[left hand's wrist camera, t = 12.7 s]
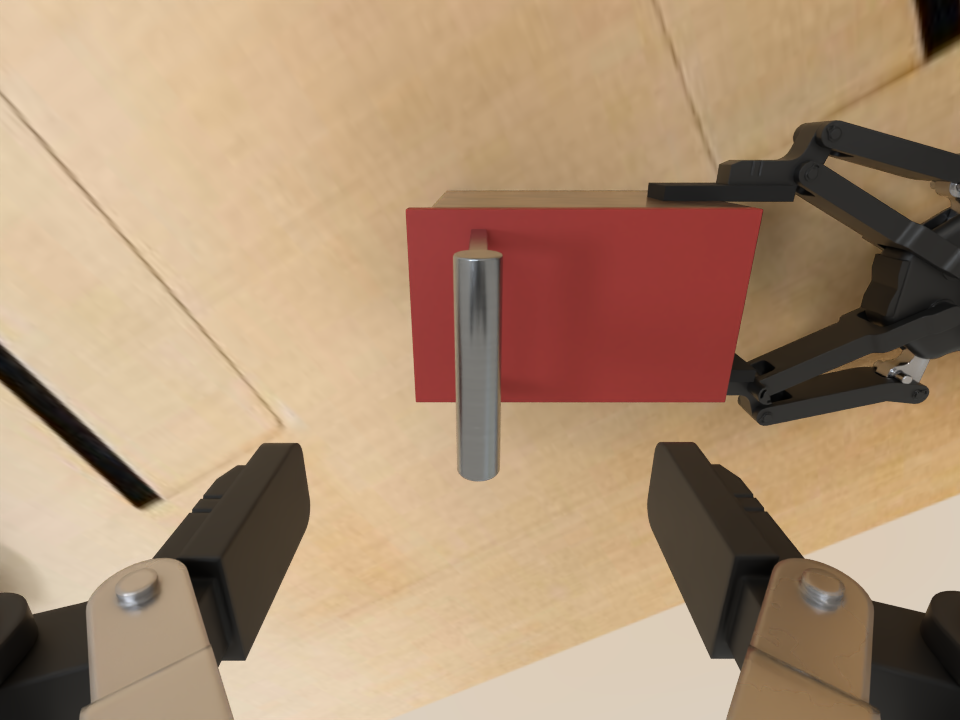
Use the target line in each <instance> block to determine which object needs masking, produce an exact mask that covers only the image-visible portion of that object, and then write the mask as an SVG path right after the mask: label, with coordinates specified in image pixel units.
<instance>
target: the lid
mask: <svg viewBox="0 0 960 720" xmlns="http://www.w3.org/2000/svg"><path fill="white" fill-rule="evenodd" d="M762 213H763V209H759V208H408V209H406V225H407V243H408V262H409V281H410V300H411V319H412V337H413V356H414V375H415V394H416V402H456V432H457V470H458V472H459V474H460V475H461V476H462V477H463V478H465V479H468V480H471V481H486V480H489V479H492V478H493V477H495V476H496V475H497V474H498V472H499V470H500V419H501V402H725V399H726V394H727V389H728V384H729V379H730V374H731V369H732V364H733V359H734V354H735V349H736V344H737V339H738V334H739V329H740V324H741V319H742V314H743V309H744V304H745V299H746V294H747V289H748V284H749V279H750V274H751V269H752V264H753V259H754V254H755V249H756V244H757V239H758V233H759V228H760V223H761V218H762Z"/></svg>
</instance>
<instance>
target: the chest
mask: <svg viewBox="0 0 960 720" xmlns="http://www.w3.org/2000/svg"><path fill="white" fill-rule="evenodd" d="M647 194H648V191H446V192H445V193H444V194H443V196H442V197H441V198H440V199H439V200H438V201H437V202H436V203H435V204H434V205H433V206H432V207H431V208H752V207H748V206H743V205H738V204H733V203H728V202H723V201H661V200H657V199H653V198H650V197H647Z"/></svg>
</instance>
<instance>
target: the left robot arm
mask: <svg viewBox="0 0 960 720" xmlns="http://www.w3.org/2000/svg"><path fill="white" fill-rule="evenodd" d="M647 509H648V518H649V522H650V526H651V529H652V531H653V533H654V535H655V537H656V540H657V542H658V544H659V546H660V548H661V551H662V553H663V555H664V557H665V559H666V561H667V564H668V566H669V568H670V570H671V572H672V575H673V577H674V579H675V581H676V583H677V585H678V588H679V590H680V592H681V594H682V596H683V599H684V601H685V603H686V605H687V607H688V610H689V612H690V614H691V616H692V618H693V620H694V623H695V625H696V627H697V629H698V631H699V634H700V636H701V638H702V640H703V642H704V644H705V647H706V649H707V651H708V653H709V655H710V658H711V659H735V661H736V663H737V665H738V667H739V669H740V671H741V672H740V676H739V679H738V682H737V685H736V689H735V692H734V695H733V699H732V702H731V705H730V708H729V712H728V715H727V718H726V720H960V591H944V592H940V593H938V594H936V595H935V596H934V597H933V598H932V600H931V602H930V604H929V607H928V609H927V611H926V613H922V612H918V611H914V610H910V609H905V608H901V607H897V606H893V605H888V604H884V603H880V602H875V601H872V600H871V599H870V597H869V595H868V594H867V593H866V592H865V590H864V589H863V588H862V587H861V586H860V585H859V584H858V583H857V582H856V581H854V580H853V579H852V578H850V577H849V576H847V575H846V574H844V573H843V572H841V571H839V570H837V569H835V568H833V567H831V566H829V565H826V564H824V563H821V562H818V561H814V560H810V559H805V558H804V557H803V556H802V555H801V553H800V552H799V551H798V550H797V549H796V547H795V546H794V545H793V544H792V542H791V541H790V540H789V539H788V537H787V536H786V535H785V534H784V532H783V531H782V530H781V529H780V527H779V526H778V525H777V524H776V522H775V521H774V520H773V519H772V517H771V516H770V515H769V514H768V512H765V511H764V507H763V506H762V505H761V504H760V502H759V501H758V500H757V499H756V498H754V497H753V494H752V492H751V491H750V490H749V489H748V487H747V486H746V485H745V484H744V482H743V481H742V480H741V479H740V478H739V477H738V476H736V475H735V474H733V473H732V472H730V471H729V470H727V469H726V468H724V467H723V466H721V465H720V464H711V463H710V462H709V461H708V459H707V458H706V457H705V455H704V454H703V453H702V451H701V450H700V449H699V447H698V446H697V445H696V444H695V443H693V442H659V443H658V444H657V446H656V448H655V453H654V460H653V466H652V473H651V480H650V486H649V493H648V501H647ZM309 515H310V498H309V491H308V485H307V478H306V471H305V465H304V458H303V452H302V448H301V446H300V445H299V444H298V443H263V444H262V445H261V446H260V447H259V448H258V450H257V451H256V452H255V454H254V455H253V456H252V458H251V459H250V460H249V462H248V463H247V464H246V465H237V466H236V467H234V468H233V469H231V470H230V471H228V472H227V473H225V474H224V475H222V476H221V477H219V478H218V479H216V481H215V482H214V483H213V484H212V486H211V487H210V488H209V489H208V491H207V492H206V493H205V494H204V495H203V499H200V500H199V502H198V503H197V504H196V505H195V507H194V508H193V509H192V513H189V514H188V515H187V517H186V518H185V519H184V520H183V521H182V523H181V524H180V525H179V526H178V528H177V529H176V530H175V531H174V533H173V534H172V535H171V536H170V538H169V539H168V540H167V541H166V542H165V544H164V545H163V546H162V547H161V549H160V550H159V551H158V552H157V554H156V555H155V556H154V557H153V559H150V560H146V561H142V562H139V563H136V564H134V565H131V566H129V567H127V568H125V569H123V570H121V571H119V572H117V573H116V574H114V575H113V576H111V577H110V578H108V579H107V580H106V581H104V582H103V583H102V584H101V585H100V586H99V587H98V588H97V589H96V590H95V592H94V593H93V594H92V595H91V597H90V599H89V601H87V602H83V603H80V604H75V605H71V606H67V607H62V608H58V609H54V610H50V611H45V612H41V613H37V614H33V615H32V613H31V610H30V608H29V606H28V604H27V601H26V599H25V598H24V597H23V596H21V595H19V594H14V593H0V720H234V718H233V715H232V712H231V708H230V705H229V702H228V699H227V695H226V692H225V689H224V685H223V682H222V679H221V676H220V672H219V669H218V667H219V665H220V663H221V661H245V660H246V658H247V656H248V654H249V652H250V649H251V647H252V645H253V643H254V641H255V639H256V636H257V634H258V632H259V630H260V628H261V626H262V623H263V621H264V619H265V617H266V615H267V613H268V610H269V608H270V606H271V604H272V602H273V600H274V598H275V595H276V593H277V591H278V589H279V587H280V585H281V582H282V580H283V578H284V576H285V574H286V572H287V569H288V567H289V565H290V563H291V561H292V559H293V556H294V554H295V552H296V550H297V548H298V546H299V544H300V541H301V539H302V537H303V535H304V533H305V531H306V528H307V525H308V521H309Z"/></svg>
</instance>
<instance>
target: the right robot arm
mask: <svg viewBox="0 0 960 720" xmlns="http://www.w3.org/2000/svg"><path fill="white" fill-rule="evenodd" d="M793 141H794V144H793V146H792V147H791V149H790V151H789V152H788V153H787V154H786V155H785V156H784V157H783V158H781V159H778V160H729V161H726V162H724V163H721V164H719V169H718V175H717V181H716V183H649V185H648V194H647V197H650V198H653V199H657V200H661V201H723V202H793V201H794V196H795V194H796V195H798V196H799V197H801V198H803V199H804V200H806V201H808V202H809V203H811V204H812V205H814V206H816V207H817V208H819V209H820V210H822V211H824V212H825V213H827V214H829V215H830V216H832V217H833V218H835V219H837V220H838V221H840V222H841V223H843V224H845V225H846V226H848V227H850V228H851V229H853V230H854V231H856V232H858V233H859V234H861V235H862V236H863V238H864V239H865V240H867V241H868V242H870V243H872V244H873V245H875V246H876V247H878V248H880V249H881V250H883V251H882V253H881V254H876V255H875V258H874V262H873V265H872V281H871V283H870V285H869V287H868V288H867V290H866V292H865V294H864V297H863V300H862V303H861V307H860V308H858V309H856V310H854V311H851V312H849V313H847V314H845V315H843V316H841V317H840V321H839V322H837V323H835V324H833V325H831V326H828V327H826V328H824V329H821V330H819V331H817V332H815V333H812V334H810V335H808V336H805V337H803V338H801V339H799V340H796V341H794V342H792V343H790V344H787V345H785V346H783V347H780V348H778V349H776V350H774V351H771V352H769V353H767V354H764V355H762V356H760V357H758V358H755V359H753V360H751V361H748V362H745V361H744V360H743V359H742V358H740V357H739V356H738V355H737V354H734V359H733V364H732V369H731V374H730V379H729V384H728V389H727V394H726V395H739V397H738V404H739V405H740V406H741V407H742V408H743V409H744V410H745V411H746V412H747V413H748V414H749V415H750V416H751V417H752V418H753V419H754V420H756V421H757V422H758V423H759V424H760V425H763V426H767V425H772V424H777V423H782V422H787V421H792V420H797V419H801V418H806V417H811V416H816V415H821V414H826V413H831V412H836V411H840V410H845V409H850V408H855V407H860V406H865V405H870V404H875V403H879V402H884V401H892V402H902V403H912V404H917V403H920V402H923V401H924V400H925V399H926V398H927V397H928V395H929V389H928V388H927V387H926V386H925V385H923V384H921V383H919V382H920V380H921V377H922V375H923V373H924V371H925V369H926V367H927V365H928V363H929V361H930V359H936V358H939V357H942V356H944V355H946V354H949V353H952V352H956V351H960V154H954V153H951V152H947V151H944V150H941V149H937V148H934V147H930V146H927V145H923V144H920V143H916V142H913V141H909V140H906V139H902V138H899V137H895V136H892V135H888V134H885V133H881V132H878V131H874V130H871V129H868V128H864V127H861V126H857V125H854V124H850V123H847V122H843V121H837V120H835V121H824V122H813V123H805V124H802V125H800V126H799V127H798V128H797V129H796V131H795V132H794V136H793ZM828 156H831V157H834V158H838V159H841V160H845V161H849V162H852V163H856V164H859V165H863V166H866V167H870V168H873V169H877V170H881V171H884V172H888V173H891V174H895V175H898V176H902V177H906V178H910V179H915V180H927V181H931V183H930V187H931V188H932V189H935V191H936V193H937V194H938V195H940V196H945V197H948V198H949V199H950V201H951V207H949V208H947V209H945V210H943V211H941V212H940V213H938V214H936V215H935V216H933V217H931V218H930V219H928V220H927V221H925V222H923V223H922V224H918V223H915V222H913V221H911V220H909V219H908V218H906V217H904V216H903V215H901V214H900V213H898V212H897V211H895V210H893V209H892V208H890V207H889V206H887V205H886V204H884V203H882V202H881V201H879V200H878V199H876V198H875V197H873V196H872V195H870V194H868V193H867V192H865V191H864V190H862V189H861V188H859V187H857V186H856V185H854V184H853V183H851V182H850V181H848V180H846V179H845V178H843V177H842V176H840V175H839V174H837V173H836V172H834V171H832V170H831V169H829V168H828V167H826V166H825V165H823V164H824V163H825V161H826V159H827V157H828ZM899 347H900V348H901V349H902V350H903V351H902V353H901V354H900V355H899V356H898V357H897V358H895V359H893V360H886V361H884V362H883V361H880V360H879V361H876V362H875V363H874V364H873V367H857V368H851V369H846V370H842V371H837V372H832V373H828V374H823V373H825V372H828V371H830V370H832V369H835V368H837V367H839V366H842V365H844V364H846V363H849V362H851V361H854V360H856V359H858V358H861V357H863V356H865V355H868V354H870V353H885V352H889V351H891V350H894V349H896V348H899ZM820 374H823V375H820Z"/></svg>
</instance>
